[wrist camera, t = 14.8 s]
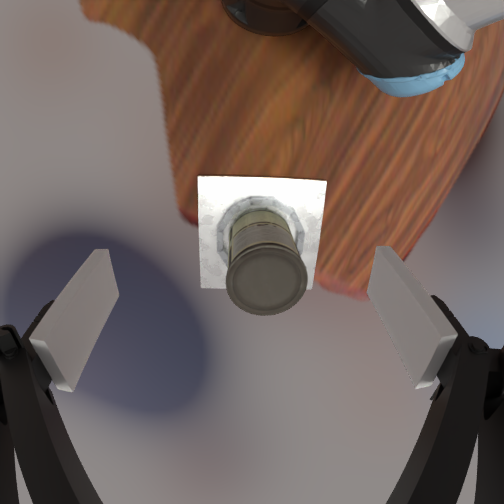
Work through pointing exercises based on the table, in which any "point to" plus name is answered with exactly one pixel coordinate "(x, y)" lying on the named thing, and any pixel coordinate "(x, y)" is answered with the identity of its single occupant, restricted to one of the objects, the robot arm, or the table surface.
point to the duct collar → (255, 197)
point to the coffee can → (264, 264)
